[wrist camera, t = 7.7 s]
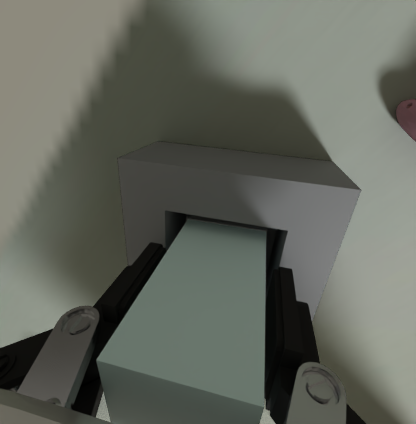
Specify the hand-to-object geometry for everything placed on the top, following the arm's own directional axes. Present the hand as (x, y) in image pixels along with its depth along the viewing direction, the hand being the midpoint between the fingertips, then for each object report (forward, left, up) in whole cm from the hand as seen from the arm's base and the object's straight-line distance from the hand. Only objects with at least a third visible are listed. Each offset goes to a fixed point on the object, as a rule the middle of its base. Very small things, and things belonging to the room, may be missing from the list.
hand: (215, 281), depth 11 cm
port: (0, 0, -5) cm, 5 cm away
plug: (0, 0, -4) cm, 4 cm away
